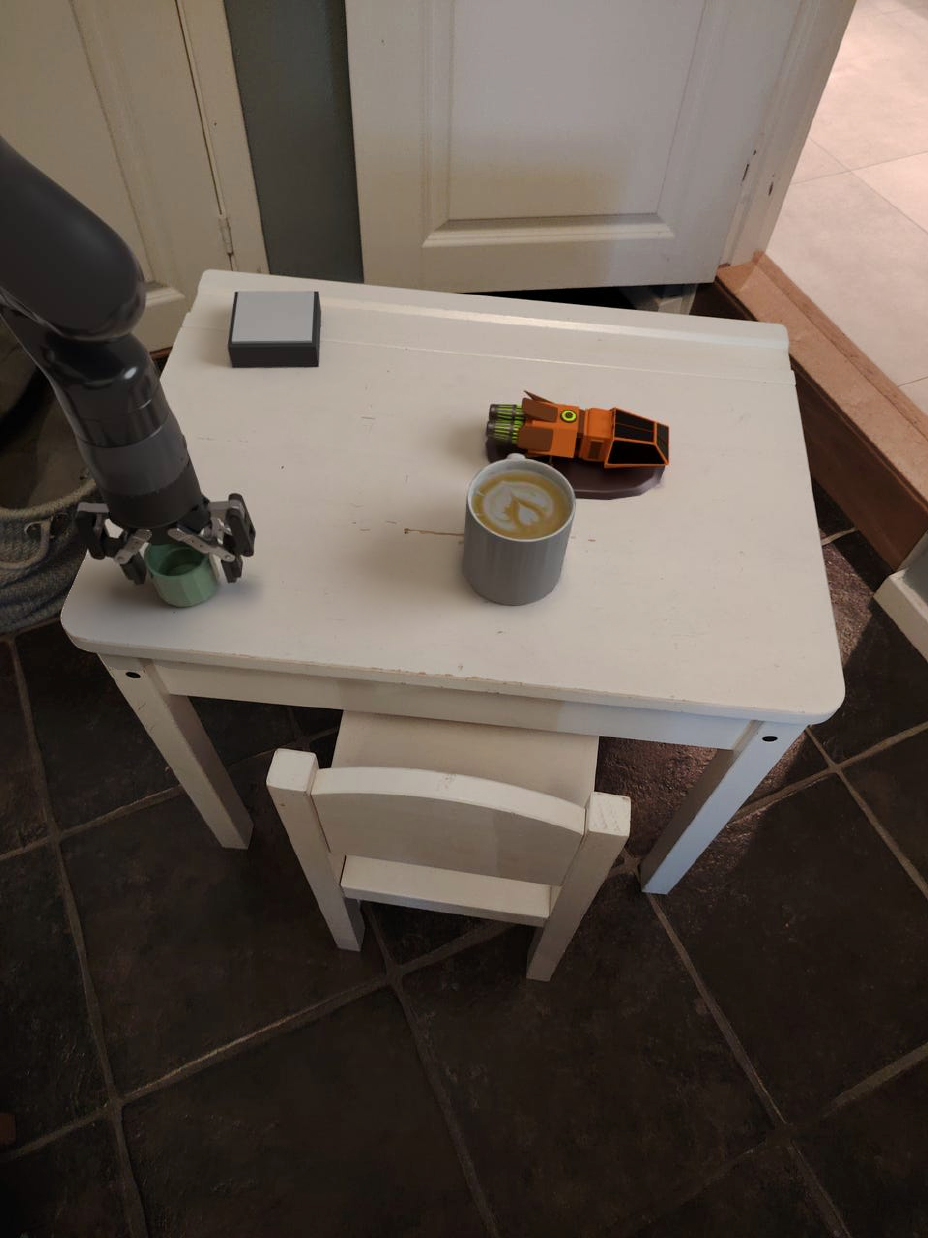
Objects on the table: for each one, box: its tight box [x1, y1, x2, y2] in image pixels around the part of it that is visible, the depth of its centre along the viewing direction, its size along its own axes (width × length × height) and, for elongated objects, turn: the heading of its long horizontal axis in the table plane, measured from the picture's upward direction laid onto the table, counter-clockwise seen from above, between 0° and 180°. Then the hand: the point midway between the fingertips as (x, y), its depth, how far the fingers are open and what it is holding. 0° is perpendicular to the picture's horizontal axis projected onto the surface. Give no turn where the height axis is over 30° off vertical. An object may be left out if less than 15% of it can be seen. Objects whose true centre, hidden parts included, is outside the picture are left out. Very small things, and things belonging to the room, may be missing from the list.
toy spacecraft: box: [484, 389, 670, 500], centre depth 89 cm, size 12×20×6 cm, turn 82°
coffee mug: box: [461, 453, 577, 606], centre depth 80 cm, size 13×10×10 cm
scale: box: [227, 290, 322, 369], centre depth 99 cm, size 10×10×3 cm
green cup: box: [142, 532, 221, 608], centre depth 79 cm, size 6×6×5 cm
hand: (188, 576), depth 79 cm, fingers open, 8 cm apart
